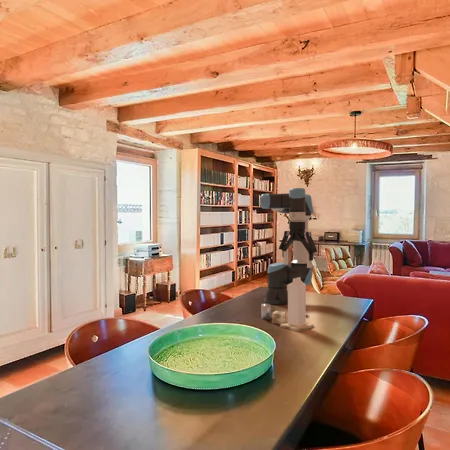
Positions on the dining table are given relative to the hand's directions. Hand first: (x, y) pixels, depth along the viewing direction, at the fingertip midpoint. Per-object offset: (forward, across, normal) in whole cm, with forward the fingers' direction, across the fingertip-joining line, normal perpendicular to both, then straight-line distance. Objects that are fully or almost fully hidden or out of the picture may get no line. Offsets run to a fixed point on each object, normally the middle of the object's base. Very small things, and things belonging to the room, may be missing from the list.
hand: (297, 266), depth 176 cm
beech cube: (+29, -10, -2) cm, 30 cm away
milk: (+28, +1, -2) cm, 28 cm away
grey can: (+29, -19, -1) cm, 34 cm away
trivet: (+28, +1, -2) cm, 29 cm away
